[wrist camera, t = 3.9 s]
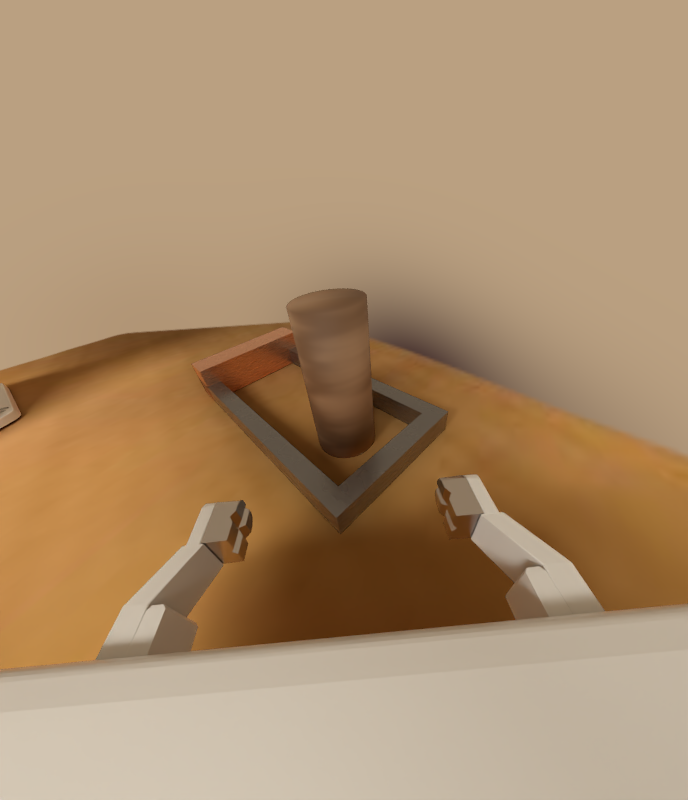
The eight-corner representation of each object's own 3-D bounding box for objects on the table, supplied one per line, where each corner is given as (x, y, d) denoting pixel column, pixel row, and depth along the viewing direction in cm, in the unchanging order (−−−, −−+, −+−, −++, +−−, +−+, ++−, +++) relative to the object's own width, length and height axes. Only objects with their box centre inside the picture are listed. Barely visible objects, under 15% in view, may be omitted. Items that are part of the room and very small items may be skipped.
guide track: (206, 391, 32) (191, 363, 30) (289, 352, 38) (282, 327, 36) (340, 534, 16) (331, 499, 14) (445, 429, 22) (451, 392, 20)
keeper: (308, 438, 24) (271, 305, 16) (347, 410, 26) (330, 285, 19) (345, 468, 20) (320, 320, 13) (386, 433, 23) (383, 293, 16)
